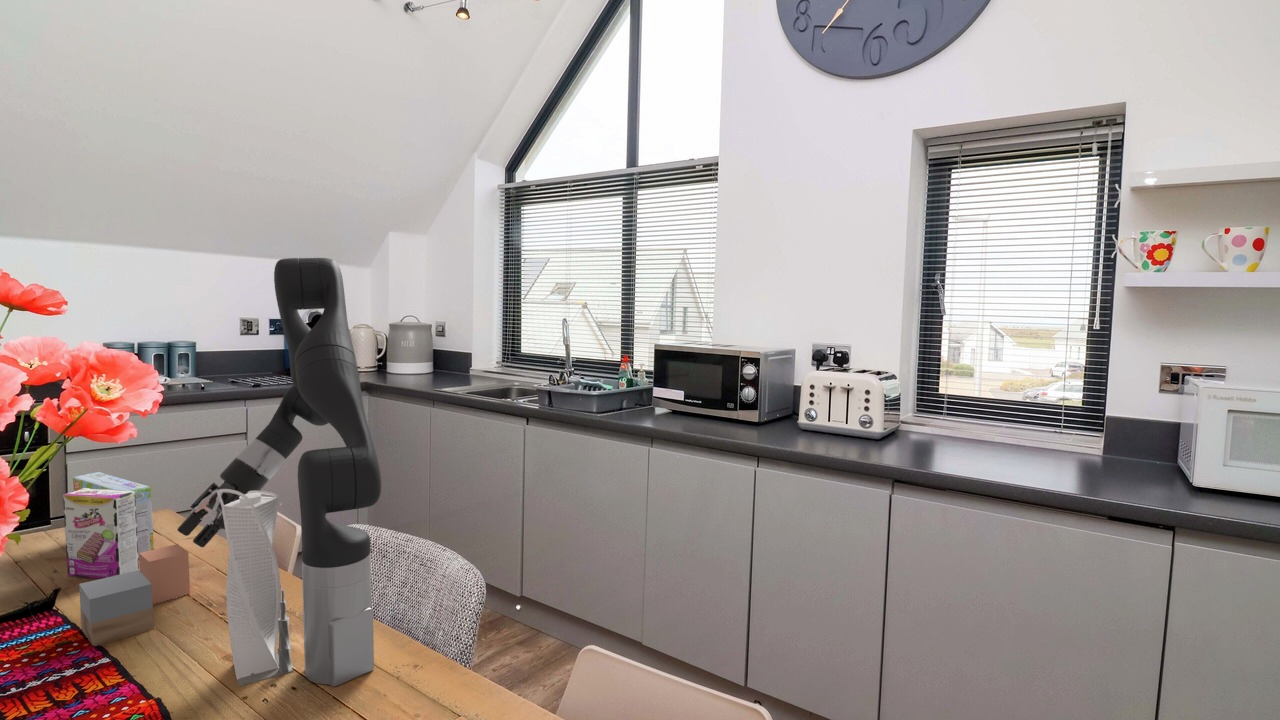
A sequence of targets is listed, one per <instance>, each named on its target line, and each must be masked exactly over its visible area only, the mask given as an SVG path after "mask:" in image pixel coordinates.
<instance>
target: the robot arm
mask: <svg viewBox="0 0 1280 720" xmlns="http://www.w3.org/2000/svg"><path fill="white" fill-rule="evenodd" d="M273 273H274V274H273V281H274V283H273V284H274V290H275V291H274V292H275V297H276V303H277V307H278V313H279V316H280V317H279V318H280V321H281V325H282V329H283V330H282V331H283V333H284V338H285V340H286V344H287V350H288V357H289V369H290V377H291V378H290V379H291V382H292V384H293V385H291V386H290V387H289V388H288V389H287V391H286V392H285V393H284V396H282V400H281V401H280V403H279V406H278V408H277V409H276V411H275V413H274V414H273V416H272V418H271V420H270V421H269V423H268V424H267V425H266V426H265V427H264V429H262V431H260V433H259V434H258V435H257V436H256V437H255V438H254V439H253V440H252V441H250V443H249V444H248V445H246V446H245V447H244V448H243V449H242V451H240V453H238V454H237V455H236V456H235V458H234V459H233V460H231V462H230V463H229V465H227V467H226V468H225V469H224V470H223V471H222V472H221V473H220V474H219V477H220V479H221V480H223V481H224V482H223V483H222V484H221V485H219V484H217V483H216V482H213V483H211V484H210V485H209V486H208V488H206V489H205V490H204V492H202V493H201V494H200V495H199V497H197V499H196V500H195V501H194V502H193V503H192V504H191V505H190V509H191V511H190V515H188V517H187V518H186V519H185V520H184V521H183V522H181V524H180V525H179V527H178V528H177V532H179V533H180V534H182V535H184V536H185V537H188V536H189V535H190V534H192V533H193V531H194V530H195V529H196V528H197V527H198V526H199V524H200V523H201V522H202V520H204V519H205V518H207V517H208V516H209V515H211V517H210V520H209V521H208V523H207V524H206V525H205V526H204V527H203V528H202V529H201V530H200V531H199V533H198V534H197V535H195V537H194V538H193V539H192V542H193V543H194V544H195V545H197V546H198V547H200V548H204V547H205V546H206V545H207V544H208V543H209V542H210V541H211V540H212V539H213V538H214V537H215V536H216V534H217V533H218V532H220V531H223V530H225V525H224V519H223V513H222V506H221V503H220V500H219V497H218V495H217V491H218V490H220V489H231V490H235V491H238V492H241V493H243V494H247V493H248V492H249V491H254V490H256V491H262V489H263V488H264V487H265V485H266V484H267V483H268V482H269V481H270V480H271V479H272V478H273V476H274V475H275V474H277V472H278V471H279V469H280V468H281V466H282V465H283V463H284V462H285V461H286V460H287V458H289V456H290V455H291V454H292V453H293V452H294V450H295V449H297V447H298V446H299V445H300V444H301V443H302V441H303V434H302V432H301V431H300V430H299V429H298V428H297V427H296V426H295V425H294V421H295V418H296V417H297V416H298V417H299V418H301V419H303V420H305V421H306V422H308V423H309V424H311V425H314V426H316V427H317V426H318V427H321V426H326V425H331V426H332V428H334V430H335V431H336V432H337V433H338V435H340V437H341V439H342V440H343V443H344V445H345V446H341V447H330V448H319V449H318V448H317V449H311V450H307V451H305V452H303V453H302V455H301V456H300V458H299V460H298V465H297V489H298V497H299V498H298V500H299V507H300V509H299V510H300V520H301V521H300V522H301V525H300V526H301V577H302V580H301V581H302V582H301V583H302V584H301V585H302V612H303V615H302V618H303V622H302V623H303V652H304V676H305V677H306V679H307V680H308V681H310V682H311V683H315V684H320V685H321V684H322V685H330V686H332V687H336V686H337V687H338V686H339V685H341V684H344V683H346V682H349V681H351V680H353V679H356V678H358V677H360V676H362V675H365V674H367V673H370V672H371V671H373V670H375V656H374V655H375V654H374V653H375V652H374V651H375V649H374V646H375V645H374V644H375V642H374V610H373V608H372V578H371V577H372V576H371V575H372V573H371V572H372V567H371V564H372V563H371V562H372V561H371V560H372V559H371V556H372V555H371V547H372V545H371V538H370V535H369V533H368V532H367V531H365V530H364V529H361V528H359V527H354V526H349V525H343V524H341V523H336V522H334V521H331V520H330V519H328V518H327V517H326V516H327V514H330V513H337V512H339V513H340V512H344V511H345V512H346V511H352V510H359V509H364V508H369V507H372V506H374V505H375V504H377V502H378V501H379V500H380V497H381V493H382V475H381V467H380V464H379V460H378V456H377V452H376V448H375V445H374V442H373V438H372V434H371V432H370V428H369V424H368V423H369V422H368V421H367V417H366V416H367V415H366V412H365V406H364V402H363V394H362V388H361V380H360V375H359V374H360V373H359V369H358V363H357V357H356V354H355V349H354V345H353V342H352V341H353V340H352V337H351V333H350V328H349V323H348V314H347V305H346V297H345V287H344V280H343V275H342V271H341V267H340V266H339V264H338V263H337V262H336V261H335V260H334V259H332V258H328V257H327V258H326V257H290V258H289V257H288V258H281V259H279V260H278V261H276V263H275V266H274V272H273ZM299 310H323V312H322V313H321V316H320V318H319V320H318V321H316V323H315V324H314V326H313V327H309V325H308V324H307V323H306V322H305V321H304V319H303V318H302V317H301V315H300V313H299ZM220 495H221V498H222V501H223V503H224V505H226V504H228V503H231V502H233V501H236V500H239V497H240V496H239V495H237V494H233V493H228V492H222V493H220Z"/></svg>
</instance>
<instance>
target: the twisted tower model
mask: <svg viewBox="0 0 1280 720" xmlns="http://www.w3.org/2000/svg"><path fill="white" fill-rule="evenodd" d="M222 492H228V493H233V494H237V495H239V496H240V497H239V500H236V501H233V502H231V503H228V504H226V505H224V503H223V501H222V498H221V495H220V493H222ZM217 495H218V497H219V500H220V503H221V506H222V513H223V519H224V525H225V529H224V531H225V536H226V541H227V546H228V551H229V555H228V556H229V557H228V561H227V569H226V584H225V585H226V586H225V587H226V590H225V591H226V593H225V594H226V616H227V624H228V632H229V633H228V634H229V640H230V647H231V648H230V649H231V655H232V659H233V662H232V664H233V669H234V673H235V678H236V681H237V685H238V687H242V686H246V685H250V684H253V683H257V682H261V681H264V680H269V679H271V678H275V677H279V676H281V675H282V676H283V675H286V674H290V673H293V672H294V668H293V664H292V658H291V649H292V645H291V637H290V630H289V626H290V617H289V616H288V615H287V600H285V589H282V587H281V586H282V585H281V584H282V583H281V575H280V569H279V565H278V560H277V556H276V554H275V551H274V547H273V541H274V535H275V530H276V525H277V517H278V511H279V510H278V509H279V502H280V497H279V495H278V494H277V493H275V492H271V491H265V490H260V491H256V490H254V491H249V492H248V493H247V494H243V493H241V492H238V491H235V490H231V489H220V490H218V491H217ZM262 495H268V496H262ZM277 641H278V642H277ZM277 643H278V648H277V652H276V647H277Z"/></svg>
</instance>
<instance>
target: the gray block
mask: <svg viewBox="0 0 1280 720" xmlns="http://www.w3.org/2000/svg"><path fill="white" fill-rule="evenodd" d="M78 585H79V586H78V587H79V605H80V606H79V608H81V609H82V611H83V613H84V614H85V616H86V617H87V619H88V621H89V622H90V624H93V623H97V622H101V621H105V620H108V619H112V618H116V617H120V616H123V615H127V614H131V613H135V612H138V611H142V610H146V609H149V608H154V606H153V605H152V584H151V583H150V582H149V581H148V580H147V579H146V577H145V576H144V575H143V574H142V573H141V572H140V569H139V570H137V571H133V572H129V573H124V574H120V575H116V576H111V577H107V578H103V579H101V578H98V579H95V580H90V581H87V582H81V583H79V584H78ZM152 606H153V607H152Z"/></svg>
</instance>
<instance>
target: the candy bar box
mask: <svg viewBox="0 0 1280 720" xmlns="http://www.w3.org/2000/svg"><path fill="white" fill-rule="evenodd" d="M62 497H63V498H62V499H63V516H64V532H65V546H66V548H65V549H66V563H67V564H66V565H67V566H66V567H67V576H68V577H76V578H87V579H89V578H90V579H103V578H107V577H111V576H116V575H120V574H124V573H129V572H133V571H137V570H139V571H140V565H139V560H138V542H137V521H136V499H135V492H134V491H121V490H106V489H92V488H83V489H80V490H76V491H74V490H73V491H71V492H67V493H65V494H63V495H62Z"/></svg>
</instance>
